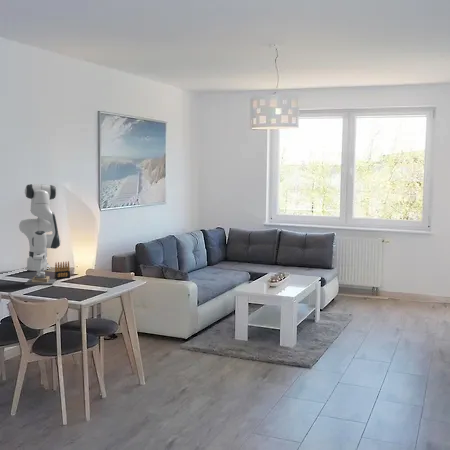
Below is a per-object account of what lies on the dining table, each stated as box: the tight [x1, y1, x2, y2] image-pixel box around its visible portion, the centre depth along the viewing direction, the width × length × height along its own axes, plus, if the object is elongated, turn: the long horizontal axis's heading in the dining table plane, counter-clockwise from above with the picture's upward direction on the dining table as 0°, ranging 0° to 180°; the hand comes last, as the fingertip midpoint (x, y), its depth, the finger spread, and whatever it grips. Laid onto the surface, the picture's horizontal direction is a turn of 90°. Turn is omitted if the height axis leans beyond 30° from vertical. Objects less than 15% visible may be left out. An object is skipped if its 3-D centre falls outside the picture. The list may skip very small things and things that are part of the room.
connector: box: [35, 271, 46, 278], centre depth 405 cm, size 4×5×6 cm
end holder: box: [24, 275, 57, 286], centre depth 405 cm, size 16×18×4 cm
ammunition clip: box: [54, 260, 71, 280], centre depth 421 cm, size 11×2×12 cm, turn 120°
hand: (40, 274), depth 405 cm, fingers open, 8 cm apart
